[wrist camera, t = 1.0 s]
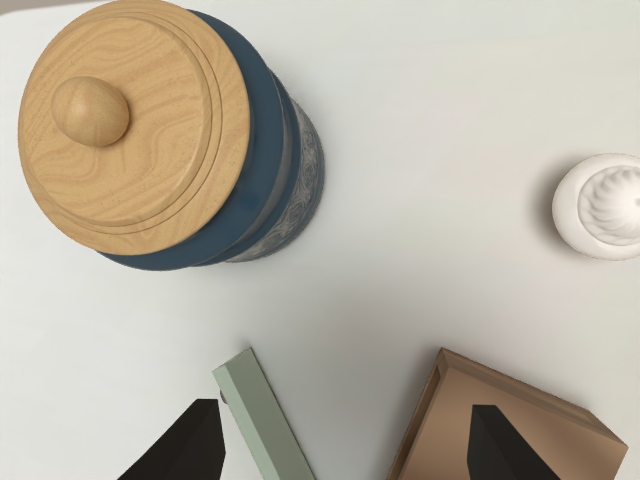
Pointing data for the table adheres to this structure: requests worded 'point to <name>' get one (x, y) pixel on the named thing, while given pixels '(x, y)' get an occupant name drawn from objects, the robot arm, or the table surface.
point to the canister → (166, 140)
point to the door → (260, 419)
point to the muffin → (601, 207)
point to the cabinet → (519, 408)
